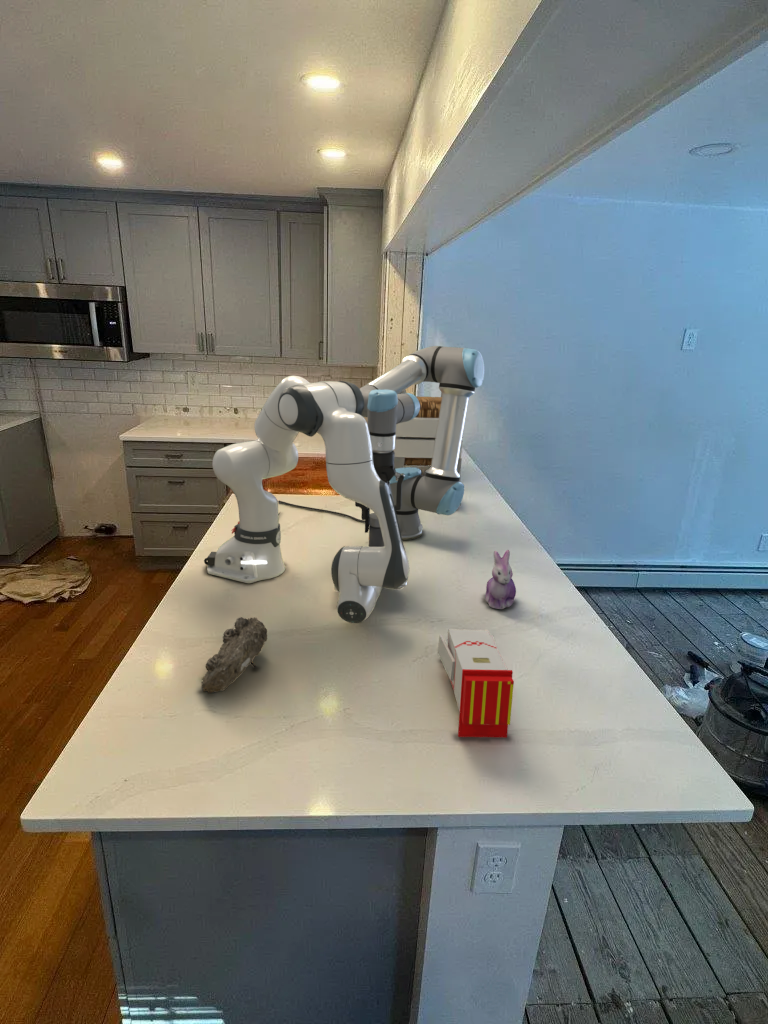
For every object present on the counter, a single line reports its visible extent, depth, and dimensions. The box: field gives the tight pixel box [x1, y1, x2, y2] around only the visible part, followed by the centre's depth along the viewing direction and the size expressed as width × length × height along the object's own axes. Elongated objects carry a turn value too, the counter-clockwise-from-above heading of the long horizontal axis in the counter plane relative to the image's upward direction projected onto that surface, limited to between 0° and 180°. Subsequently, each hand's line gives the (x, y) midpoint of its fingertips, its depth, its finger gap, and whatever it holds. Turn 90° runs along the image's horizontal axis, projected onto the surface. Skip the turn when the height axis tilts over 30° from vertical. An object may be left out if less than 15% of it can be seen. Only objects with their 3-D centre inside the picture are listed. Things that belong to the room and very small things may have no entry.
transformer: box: [393, 389, 465, 482], centre depth 268 cm, size 34×33×41 cm
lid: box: [368, 512, 380, 527], centre depth 156 cm, size 5×5×2 cm
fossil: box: [201, 616, 268, 694], centre depth 122 cm, size 22×10×15 cm
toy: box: [437, 628, 515, 738], centre depth 117 cm, size 12×13×30 cm
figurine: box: [484, 549, 517, 610], centre depth 153 cm, size 9×10×15 cm
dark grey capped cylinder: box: [368, 525, 384, 547], centre depth 159 cm, size 4×4×20 cm
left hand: (376, 562), depth 161 cm, fingers closed on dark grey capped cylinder, 4 cm apart
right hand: (377, 531), depth 157 cm, fingers closed on lid, 5 cm apart
